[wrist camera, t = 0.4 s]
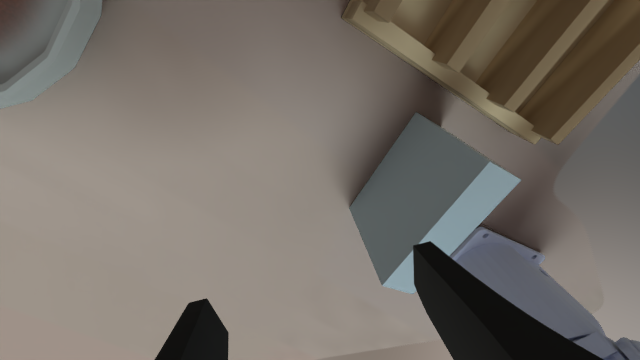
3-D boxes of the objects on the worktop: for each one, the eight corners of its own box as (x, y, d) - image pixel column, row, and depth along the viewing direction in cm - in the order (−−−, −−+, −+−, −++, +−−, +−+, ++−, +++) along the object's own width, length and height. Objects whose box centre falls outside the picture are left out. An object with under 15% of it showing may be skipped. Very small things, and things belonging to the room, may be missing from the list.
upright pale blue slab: (440, 126, 19) (521, 180, 13) (372, 216, 22) (413, 294, 16) (415, 111, 18) (490, 161, 12) (349, 207, 21) (382, 285, 15)
